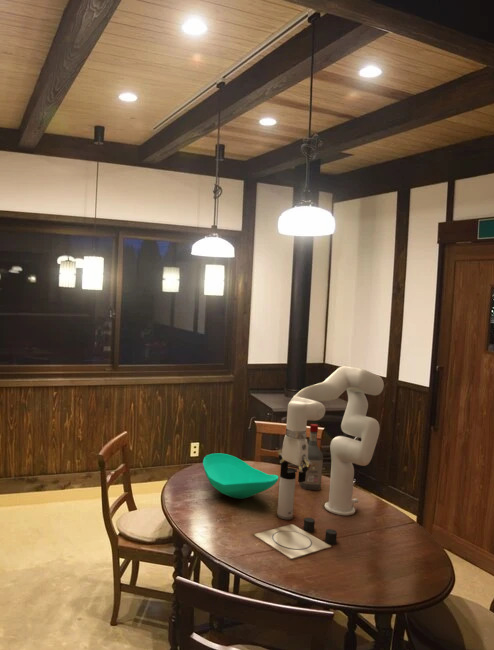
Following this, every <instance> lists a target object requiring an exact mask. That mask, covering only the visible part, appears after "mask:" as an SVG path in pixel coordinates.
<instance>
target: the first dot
mask: <svg viewBox="0 0 494 650" xmlns="http://www.w3.org/2000/svg"><path fill="white" fill-rule="evenodd" d="M315 522H316V520H315V519H314V518H313V517H304V518H303V529H302V530H304V531H305V532H307V533H313V532H314V531H315Z"/></svg>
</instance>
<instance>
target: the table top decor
mask: <svg viewBox="0 0 494 650" xmlns="http://www.w3.org/2000/svg"><path fill="white" fill-rule="evenodd" d="M202 465H203V469H204V473H205V475H206V477H207V480H208V481H209V483H210V485H211V486H212V487H213V488H214V489H216V490H217V491H218V492H220V494H223V495H225V496H228V497H229V498H233V499H238V500H245V499H248V498H251V497H253V496H255V495H258V494H260V493H262V492H265V491H267V490H268V489H270V488H272V487H273V486H274V485H275V484H276V483H277V482H278V481H279V479H280V476H279V475H277V474H268V473H266V472H264V471H262V470H260V469H257V468H255V467H253V466H251V465H250V464H248V463H247V462H246V461H244V460H242V459H240V458H238V457H236V456H234V455H231V454H228V453H221V452H218V453H215V452H214V453H210V454H207V455H205V456H204V457H203V460H202Z"/></svg>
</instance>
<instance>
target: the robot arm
mask: <svg viewBox="0 0 494 650" xmlns="http://www.w3.org/2000/svg"><path fill="white" fill-rule="evenodd" d="M384 387H385V383H384V380H383V378H382V377H381V376H380V375H378V374H375V373H373V372H371V371H370V370H366V369H363V368H358V367H353V366H347V365H341V366H339V367H337V368H336V370H334V371H333V372H332V373H331V374H330V375H329V376H328V377H327V378H325V380H324V381H322V382H318V383H316V384H311V385H309V386H306V387H304V388H301V390H299V391H298V392H297V393H296V394H294V395H293V397H292V398H291V399H290V401H289V402H288V404H287V410H286V411H287V413H286V425H285V427H286V428H285V435H284V437H283V441H282V447H281V448H279V449H277V454H278V459H279V463H280V471H281V472H280V473H281V474H285V473H287V472H288V468H289V464H293V465H294V466H297V468H298V469H299V471H298V477H297V478H298V479H297V482H298V483H299V482H305V479H306V472H307V471H308V470H309V469H310V467H311V465H312V463H311V462H310V460H309V459H308V444H309V442H308V439H307V438H308V436H307V425H308V421H319V420H322V418H324V417H325V414H326V407H325V405H324V404H323V403H322V402H328V401H334V400H337V399H338V398H339V397H340V396H342V394H343V393H344V392H346V394H347V404H346V408H345V411H344V413H343V417H342V420H341V424H340V429H341V431H342V432H343V433H344V434H346V435H349V436H352V437H355V438H359V439H361V440H357V439H354V438H351V437H347V436H344V435H337V436H335V437H334V438H332V439H331V441H330V444H329V447H330V448H329V449H330V450H329V451H330V460H331V461H330V462H331V463H330V464H331V465H330V467H331V468H330V476H329V478H330V479H329V490H328V491H329V492H328V501H326V502H325V503H324V509H325V510H327V512H329V513H331V514H334V515H337V516H352V515H355V512H356V509H355V507H354V504H355V505H356V504H358V503H359V499H358V498H353V493H354V481H355V479H354V478H355V468H354V465H353V464H355V465H358V466H363V467H365V466H368V465H369V464H370V462H372V459H373V456H374V453H375V449H376V446H377V443H378V440H379V435H380V430H381V428H380V423H379V421H378V420H377V419H376V418H374V417H370V416H367V412H368V409H369V401H368V399H367V397H366V395H370V396H379V395H380V394H382V392H383V390H384ZM365 394H366V395H365ZM302 466H303V469H302ZM280 473H279V474H280Z"/></svg>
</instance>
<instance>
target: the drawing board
mask: <svg viewBox="0 0 494 650" xmlns="http://www.w3.org/2000/svg"><path fill="white" fill-rule="evenodd" d="M253 536H254V537H256V538H257V539H259V540H261V542H263V543H265V544H266V545H268V546H269V547H271V548H273V549H274V550H276V551H277V552H279V553H280V554H281V555H283V556H285V557H287V558H288V559H290V560H294V559H298V558H301V557H304V556H307V555H310V554H314V553H318V552H320V551H323V550H324V551H325V550H327V549H330V548H332V545H331V544H328V543H326V542H325V541H323V540H321V539H320V538H318V537H316V536H314V535H313V534H311V533H310V532H307V531H305V530H304V529H301V528H300V527H298V526H297V525H295V524H292V523H291V524H288V525H283V526H280V527H276V528H272V529H268V530H264V531H260V532H256V533H253Z"/></svg>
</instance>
